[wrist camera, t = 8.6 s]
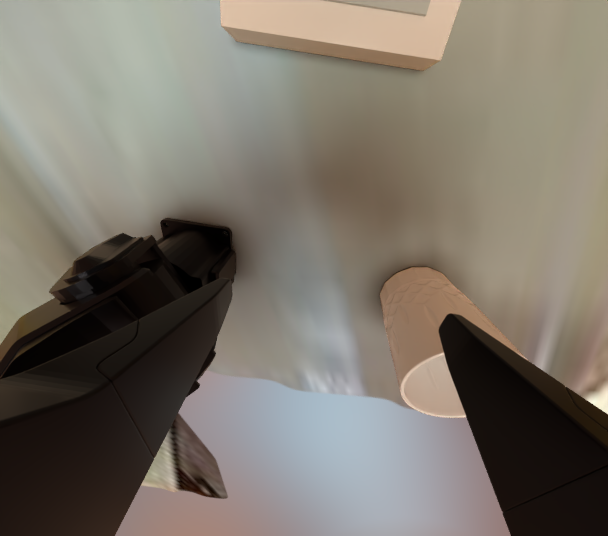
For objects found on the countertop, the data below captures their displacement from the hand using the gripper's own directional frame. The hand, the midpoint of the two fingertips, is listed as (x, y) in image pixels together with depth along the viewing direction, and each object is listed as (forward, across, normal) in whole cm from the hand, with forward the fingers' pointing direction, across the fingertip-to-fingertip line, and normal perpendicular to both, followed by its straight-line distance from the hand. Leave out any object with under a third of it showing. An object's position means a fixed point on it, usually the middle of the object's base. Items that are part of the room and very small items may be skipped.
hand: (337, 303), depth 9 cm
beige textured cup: (+12, -10, +7) cm, 17 cm away
